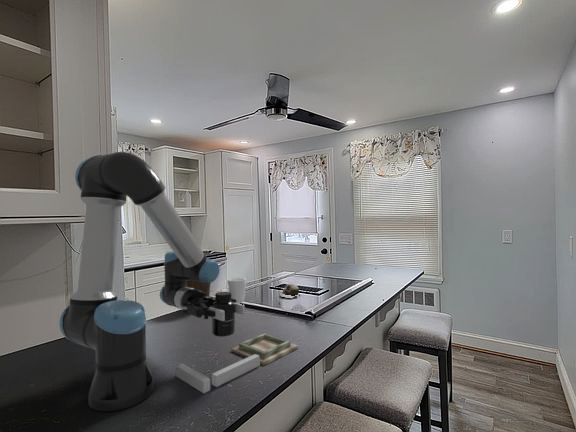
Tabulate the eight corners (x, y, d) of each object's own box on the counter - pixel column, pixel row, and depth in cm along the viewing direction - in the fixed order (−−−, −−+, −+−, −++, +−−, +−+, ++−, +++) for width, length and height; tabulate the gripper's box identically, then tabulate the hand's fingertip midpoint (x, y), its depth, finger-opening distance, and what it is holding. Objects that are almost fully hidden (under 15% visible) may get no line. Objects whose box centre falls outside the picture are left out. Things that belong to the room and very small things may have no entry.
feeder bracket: (203, 393, 85) (203, 381, 85) (175, 376, 94) (175, 365, 94) (259, 365, 99) (259, 355, 99) (231, 353, 109) (230, 344, 109)
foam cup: (245, 306, 162) (244, 280, 162) (226, 307, 163) (226, 281, 162) (247, 301, 172) (247, 277, 172) (230, 301, 172) (229, 277, 172)
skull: (274, 295, 180) (281, 279, 185) (283, 305, 186) (289, 289, 191) (291, 298, 172) (298, 281, 178) (300, 307, 178) (306, 291, 184)
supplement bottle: (230, 338, 94) (229, 296, 94) (208, 336, 95) (207, 295, 95) (238, 329, 101) (237, 291, 101) (217, 328, 102) (217, 290, 102)
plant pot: (195, 315, 149) (194, 280, 149) (171, 311, 157) (170, 277, 157) (219, 306, 163) (219, 274, 163) (196, 302, 171) (195, 272, 171)
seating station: (264, 365, 100) (264, 357, 100) (231, 351, 110) (231, 343, 110) (297, 348, 112) (297, 341, 111) (265, 337, 122) (265, 330, 122)
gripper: (215, 304, 117) (258, 317, 102) (163, 318, 103) (205, 335, 87) (214, 284, 117) (258, 293, 102) (162, 294, 103) (204, 307, 87)
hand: (233, 312), depth 95 cm, fingers closed on supplement bottle, 7 cm apart
